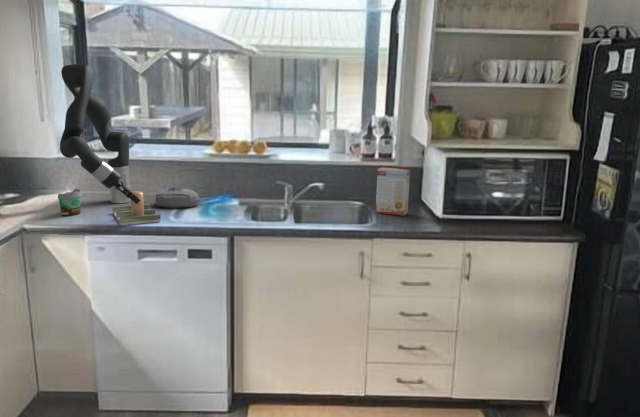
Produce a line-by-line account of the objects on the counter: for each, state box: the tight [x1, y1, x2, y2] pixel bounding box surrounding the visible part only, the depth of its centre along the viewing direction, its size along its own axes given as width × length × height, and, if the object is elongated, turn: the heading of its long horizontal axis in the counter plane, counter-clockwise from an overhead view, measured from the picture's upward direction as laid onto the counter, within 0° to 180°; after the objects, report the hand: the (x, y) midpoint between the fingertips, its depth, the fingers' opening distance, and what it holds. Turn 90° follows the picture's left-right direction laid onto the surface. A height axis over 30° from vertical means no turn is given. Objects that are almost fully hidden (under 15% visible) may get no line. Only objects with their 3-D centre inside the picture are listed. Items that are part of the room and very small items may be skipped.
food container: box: [57, 188, 83, 217], centre depth 246 cm, size 12×6×10 cm, turn 168°
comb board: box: [111, 203, 161, 226], centre depth 244 cm, size 21×16×3 cm
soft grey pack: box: [155, 187, 200, 209], centre depth 268 cm, size 15×8×20 cm
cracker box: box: [375, 167, 411, 217], centre depth 262 cm, size 14×6×21 cm, turn 65°
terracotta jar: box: [130, 190, 145, 217], centre depth 239 cm, size 5×5×11 cm
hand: (136, 199), depth 238 cm, fingers open, 8 cm apart
